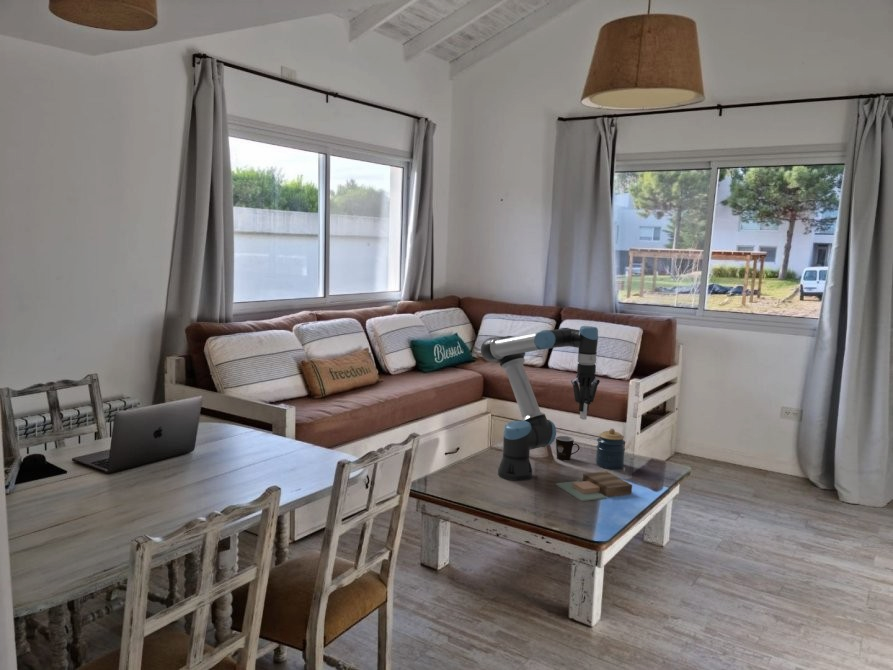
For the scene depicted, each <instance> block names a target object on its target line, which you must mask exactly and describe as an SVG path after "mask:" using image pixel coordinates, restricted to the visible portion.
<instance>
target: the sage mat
mask: <svg viewBox="0 0 893 670" xmlns="http://www.w3.org/2000/svg"><path fill="white" fill-rule="evenodd" d="M574 482H582V480H575V481H573V480H572V481H565V482H556V483H555V486H557V487H558V488H560V489H562V490H563V491H564V492H566V493H568V494H570V495H571V496H572V497H574V498H576V499H577V500H578V501H580V502H588V501H595V500H596V501H597V500H605V499H607V498H608V497H606V496H604V495H603V494H601V493H599V492H594V493H586V494H583V493H581V492H579V491H578V490H576V489H575V488H573V483H574Z"/></svg>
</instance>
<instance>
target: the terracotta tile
mask: <svg viewBox="0 0 893 670" xmlns="http://www.w3.org/2000/svg"><path fill="white" fill-rule="evenodd" d="M573 488H575V489H576V490H578V491H579V492H581V493H583V494H586V493H594V492H600V487H599V486H597V485H595V484H593V483H592V482H590V481H583V480H582V481H581V482H574V483H573Z"/></svg>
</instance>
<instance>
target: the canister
mask: <svg viewBox="0 0 893 670" xmlns="http://www.w3.org/2000/svg"><path fill="white" fill-rule="evenodd" d="M598 436H599V437H598V438H597V439H596V441H597V445H596V453H595V454H596V456H595V457H596V458H595V465H596V466H598V467H600V468H603V469H608V470H620V469H621V468H623V467H624V463H625V461H624V460H625V451H626V448H625V444H626V440H624V438H625V436H624V435H623V434H621V433H620V432H617V431H615V429H614V428H610V429H608V430H605V431H603V432H601V433H599V434H598Z"/></svg>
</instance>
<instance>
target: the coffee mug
mask: <svg viewBox="0 0 893 670" xmlns="http://www.w3.org/2000/svg"><path fill="white" fill-rule="evenodd" d="M574 440H575V439H574V437H572V436H568V435H567V436H566V435H556V437H555V448H556V449H555V450H556V459H557V460H558V459H559V461H562V460H568V461H570V460H571V458H572V455H573V454H576V453H578V452H579V450H581V449H580V445H579V444H578V443H576V442H575V441H574ZM574 442H575V443H574ZM574 445H575V446H576V447H577V448H578V449H577V450H575V451H574V452H572V451H573V447H574Z"/></svg>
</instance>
